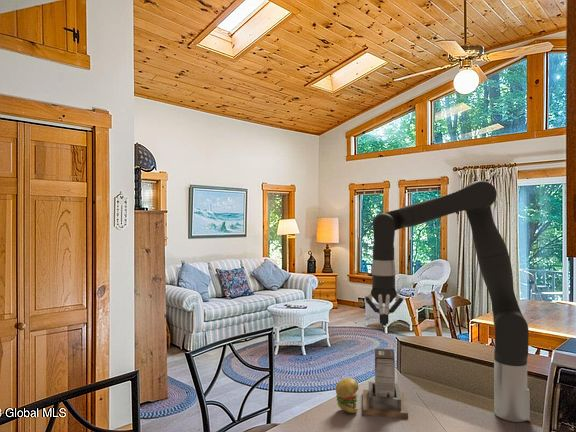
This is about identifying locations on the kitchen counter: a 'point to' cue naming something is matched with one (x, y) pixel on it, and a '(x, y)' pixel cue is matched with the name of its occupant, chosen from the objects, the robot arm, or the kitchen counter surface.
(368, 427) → the kitchen counter surface
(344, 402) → the hamburger
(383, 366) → the coffee box
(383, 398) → the socket stand
